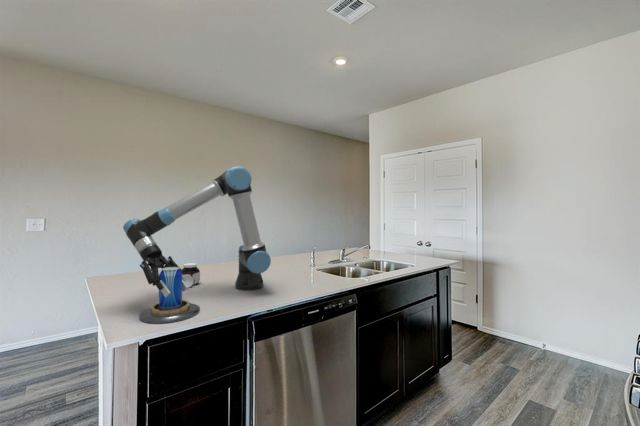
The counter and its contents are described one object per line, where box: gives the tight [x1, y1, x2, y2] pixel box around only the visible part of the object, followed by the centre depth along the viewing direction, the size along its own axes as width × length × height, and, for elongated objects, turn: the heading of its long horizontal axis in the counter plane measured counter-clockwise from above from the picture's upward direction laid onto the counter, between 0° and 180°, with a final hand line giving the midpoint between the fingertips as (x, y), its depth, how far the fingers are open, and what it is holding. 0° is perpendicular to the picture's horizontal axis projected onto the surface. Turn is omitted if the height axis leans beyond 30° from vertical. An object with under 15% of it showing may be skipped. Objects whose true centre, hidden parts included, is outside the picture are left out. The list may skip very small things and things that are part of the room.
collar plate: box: [138, 299, 201, 325], centre depth 123 cm, size 22×22×4 cm
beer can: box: [158, 266, 183, 310], centre depth 123 cm, size 8×8×16 cm
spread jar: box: [181, 262, 201, 289], centre depth 167 cm, size 12×11×12 cm
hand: (177, 292), depth 122 cm, fingers closed on beer can, 8 cm apart
